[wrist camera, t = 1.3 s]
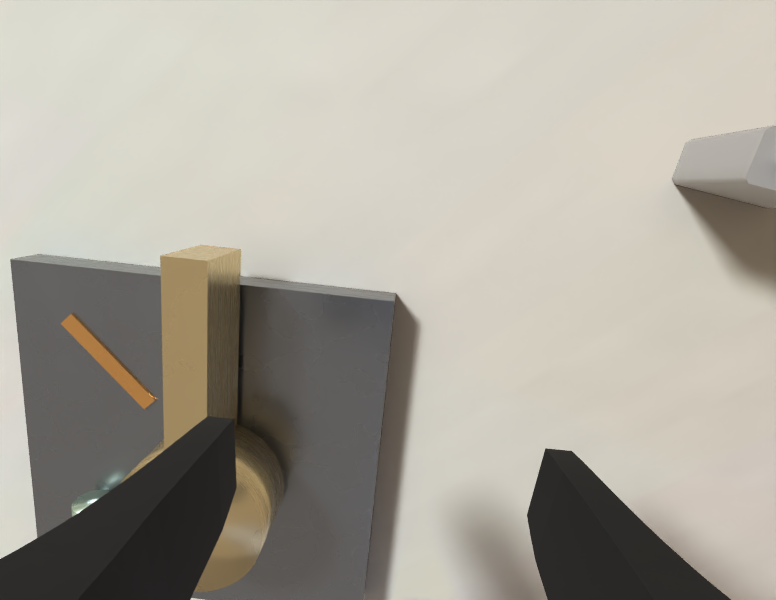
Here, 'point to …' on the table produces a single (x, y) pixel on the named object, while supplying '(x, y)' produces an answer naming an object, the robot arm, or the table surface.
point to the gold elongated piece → (214, 397)
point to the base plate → (254, 408)
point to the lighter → (732, 166)
